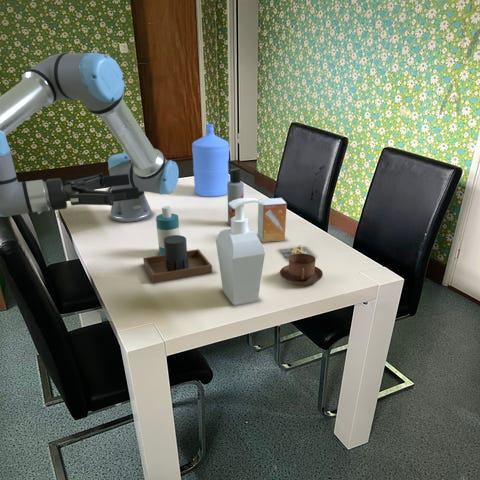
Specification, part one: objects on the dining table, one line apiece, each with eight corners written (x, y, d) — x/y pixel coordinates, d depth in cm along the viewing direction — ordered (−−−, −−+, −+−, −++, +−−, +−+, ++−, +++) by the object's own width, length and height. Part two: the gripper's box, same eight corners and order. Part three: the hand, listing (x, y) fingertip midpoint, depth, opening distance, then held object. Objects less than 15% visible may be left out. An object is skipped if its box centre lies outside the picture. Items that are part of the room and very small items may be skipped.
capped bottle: (157, 250, 150) (152, 205, 142) (178, 247, 152) (174, 202, 144) (162, 258, 144) (157, 212, 136) (183, 255, 146) (180, 209, 139)
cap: (164, 265, 139) (161, 236, 134) (184, 261, 141) (182, 233, 136) (169, 273, 134) (166, 244, 129) (190, 270, 136) (188, 241, 131)
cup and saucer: (329, 285, 129) (331, 264, 125) (289, 291, 126) (290, 270, 122) (311, 267, 138) (313, 248, 135) (273, 272, 136) (274, 253, 132)
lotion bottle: (241, 227, 168) (241, 170, 157) (226, 226, 169) (225, 170, 158) (244, 221, 172) (244, 166, 162) (229, 220, 173) (228, 166, 163)
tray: (144, 265, 140) (143, 257, 139) (199, 256, 146) (198, 249, 144) (153, 283, 130) (152, 275, 129) (212, 273, 135) (211, 265, 134)
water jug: (216, 199, 196) (214, 128, 182) (187, 193, 204) (182, 125, 189) (236, 190, 207) (236, 123, 193) (208, 185, 215) (205, 120, 200)
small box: (262, 243, 155) (263, 204, 148) (257, 236, 160) (257, 199, 153) (285, 240, 156) (287, 202, 149) (279, 234, 162) (281, 197, 155)
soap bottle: (269, 302, 120) (273, 204, 107) (233, 309, 117) (232, 210, 104) (251, 282, 130) (252, 190, 117) (217, 288, 127) (214, 195, 114)
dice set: (292, 258, 144) (292, 252, 143) (286, 252, 148) (287, 246, 147) (307, 256, 145) (308, 250, 144) (301, 250, 149) (301, 244, 148)
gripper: (49, 196, 127) (127, 187, 134) (54, 226, 107) (144, 214, 114) (42, 168, 123) (123, 160, 130) (46, 194, 103) (141, 183, 110)
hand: (133, 185), depth 122 cm, fingers open, 13 cm apart
